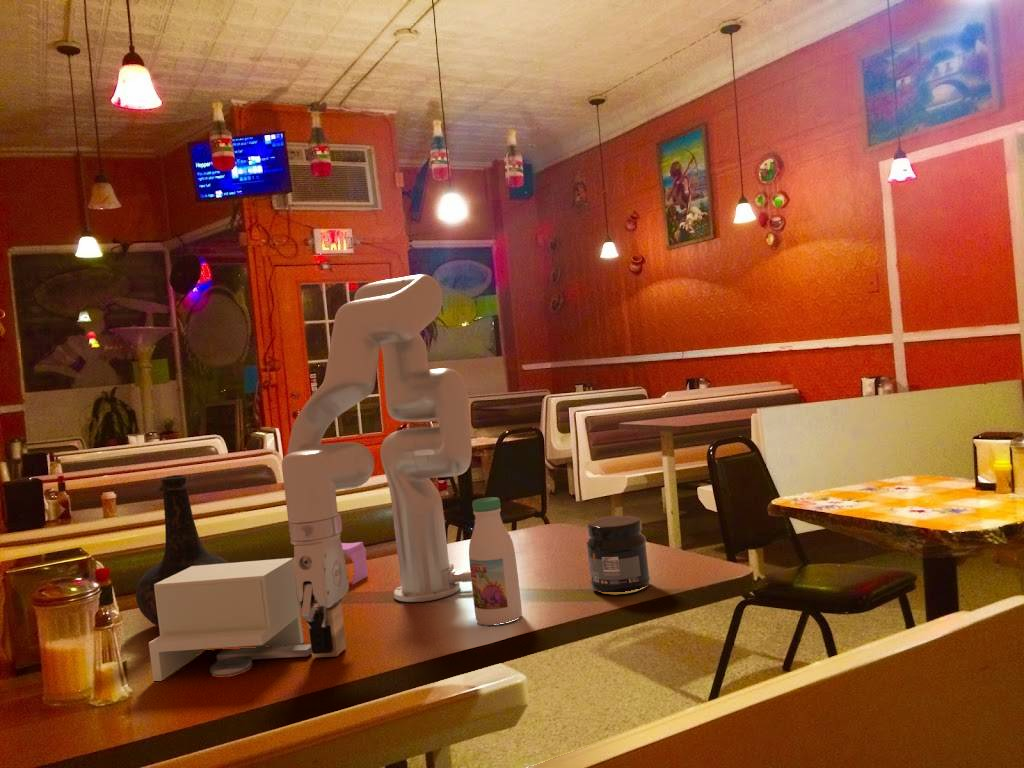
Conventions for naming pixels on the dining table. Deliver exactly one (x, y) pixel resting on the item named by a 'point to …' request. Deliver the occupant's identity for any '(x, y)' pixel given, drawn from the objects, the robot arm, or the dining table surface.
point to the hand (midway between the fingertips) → (328, 645)
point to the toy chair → (355, 557)
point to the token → (231, 666)
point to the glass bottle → (174, 545)
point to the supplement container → (617, 554)
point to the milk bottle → (493, 566)
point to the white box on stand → (224, 611)
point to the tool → (297, 650)
